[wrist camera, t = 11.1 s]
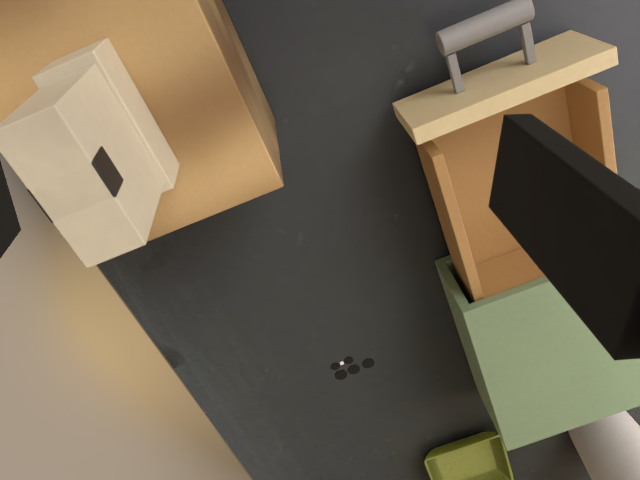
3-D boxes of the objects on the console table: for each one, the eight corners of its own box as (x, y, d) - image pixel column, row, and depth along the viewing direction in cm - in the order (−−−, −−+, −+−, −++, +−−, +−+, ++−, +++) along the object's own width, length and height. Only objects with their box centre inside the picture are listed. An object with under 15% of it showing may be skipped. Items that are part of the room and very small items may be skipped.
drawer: (373, 46, 39) (392, 66, 34) (561, -34, 38) (610, -26, 33) (447, 274, 49) (469, 315, 44) (596, 218, 48) (637, 254, 43)
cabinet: (433, 260, 49) (462, 313, 43) (596, 198, 48) (651, 243, 42) (477, 391, 58) (506, 451, 52) (615, 342, 57) (663, 397, 50)
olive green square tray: (495, 419, 61) (502, 434, 59) (507, 467, 65) (515, 483, 63) (417, 444, 61) (423, 460, 60) (435, 490, 66) (441, 506, 64)
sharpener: (51, 61, 27) (-30, 123, 19) (108, 36, 26) (50, 88, 19) (129, 185, 30) (89, 280, 22) (180, 164, 30) (157, 253, 22)
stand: (10, -8, 36) (-87, 25, 25) (183, -88, 34) (156, -87, 24) (128, 179, 43) (90, 265, 32) (274, 118, 41) (284, 187, 31)
